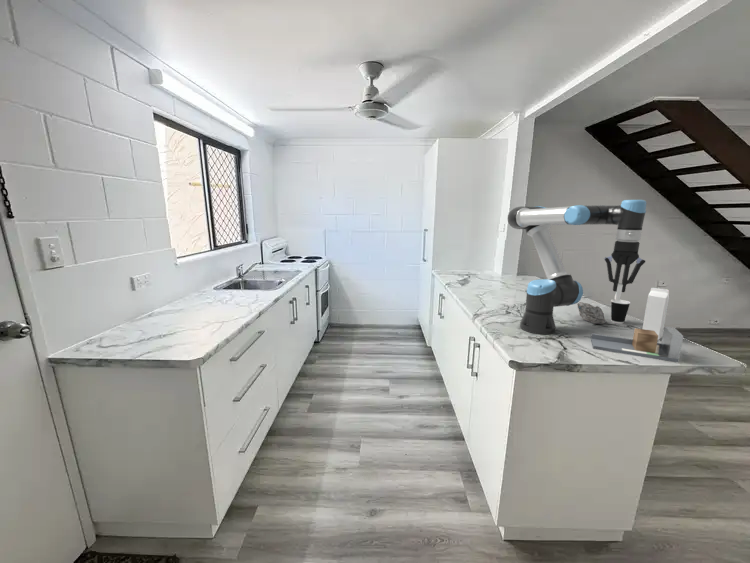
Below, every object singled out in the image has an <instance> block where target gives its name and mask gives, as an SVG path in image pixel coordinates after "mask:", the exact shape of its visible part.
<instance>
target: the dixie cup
mask: <svg viewBox="0 0 750 563" xmlns="http://www.w3.org/2000/svg"><path fill="white" fill-rule="evenodd" d="M610 302H611V305H610V307H611V308H610V310H611V311H610V320H611V322H612V324H613V323H614V324H618V325H623V324H624V322H625V321H626V318H627V314H628V311H629V307H630V305H631V303H632V302H631V301H629V300H624V299H620V301H618V300H615V299H613V298H612V299H610Z"/></svg>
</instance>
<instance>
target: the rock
mask: <svg viewBox="0 0 750 563" xmlns="http://www.w3.org/2000/svg"><path fill="white" fill-rule="evenodd" d="M576 305H577V308H578V312H579V316H580V317H581V320H583V321H585V322H589V323H591V324H601V325H603V324H605V323H606V322H607V321H606V319H605V314H604V311H603V309H602V308H601V307H600V306H598V305H596V306H594V305H592V304H591V303H588V302H583V301H579V302H578V303H576Z"/></svg>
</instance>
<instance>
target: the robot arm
mask: <svg viewBox="0 0 750 563" xmlns="http://www.w3.org/2000/svg"><path fill="white" fill-rule="evenodd" d="M646 209H647V201H646V200H645V199H624V200H622V201H621V204H620V205H619V204H618V205H606V204H605V205H601V204H600V205H583V204H580V205H579V204H578V205H577V204H576V205H572V206H557V207H556V206H555V207H545V206H540V205H538V206H516V207H514V208H512V209H511V210H510V211H509V212H508V215H507V223H508V224H509V226H510V227H512V228H513V229H516V230H525V232H526V235H527V236H528V237H531V239H532V242H533V245H534V248H535V249H536V252H537V255H538V257H539V260H540V263H541V265H542V266H541V267H542V268H543V270H544V274H545V277H546V278H544V279H542V278H541V279H534V280H531V281H530V282H528V283H527V288H526V299H525V310H524V314H523V316H522V318H521V320H520V322H519V328H520V329H521V330H523V331H525V332H528V333H530V334H531V333H532V334H536V335H537V334H538V335H551V334H554V333H556V327H557V326H556V322H555V318H554V315H553V314H554V307H555V308H556V307H563V306H564V307H565V306H566V307H567V306H571V305H577V304H578V303H579V302H581V300H582V297H583V294H584V289H583V286H582V284H581V283H580V282H578V281H577V280H574V279H573V277H572V274H571V273H568V272H567V271H566V268H565V266H564V264H563V261H562V258H561V256H560V253H559V251H558V249H557V246H556V244H555V241H554V239H553V236H552V234H551V231H550V230H551V228H552V226H565V225H566V226H567V225H570V226H571V225H573V226H583V225H585V226H586V225H590V226H591V225H616V226H617V228H616V234H615V240H616V241H614V247H613V252H612V253H611V255H609V256H607V257H606V256H605V257H604V258H603V259H604V261H605V263H606V268H607V275H608V276H607V277H608V281H609V282H610V283H613V286H612V291H613V292H615V295H614V299H615V300H618V301H620V300H621V296H622V293H625V292H626V290H627V285H630V284H633V283H634V281H635V279H636V277H637V275H638V273H639V271H640V269H641V268H642V266H643V265H644V264H645V263H646V260H645V259H644V258H641V257H640V255H639V250H640V249H639V248H640V241H641V237H642V233H643V225H644V220H645V216H646V213H647V210H646ZM612 259H613V261H614V262H615V263H616V268H615V273H614V274H613V268H612V263H611V262H612ZM634 262H636V264H635V265H634V268H633V270H632V272H631V274H630V276H629V273H630V268H631V265H632V264H634ZM623 265H624V269H623V274H622V279H621V280H622V281H621V282H619V281H620V277H621V276H620V275H621V272H622V267H623ZM613 275H614V276H613Z"/></svg>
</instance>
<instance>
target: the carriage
mask: <svg viewBox="0 0 750 563" xmlns="http://www.w3.org/2000/svg"><path fill="white" fill-rule="evenodd" d="M633 331H634V332H633V335H632V336H633V337H632V339H633V342H632V345H633V347H634V349H635V350H639V351H645V352H652V353H656V354H658V352H659V345H657V343H658V341H659V340H658V335H657V334H656V332H655V331H652V330H644V329H643V328H636V327H635V328H634V330H633Z"/></svg>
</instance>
